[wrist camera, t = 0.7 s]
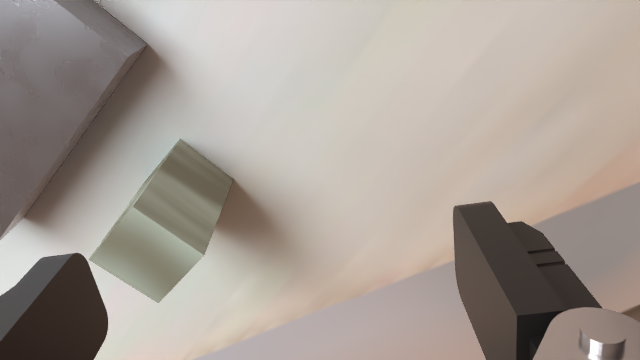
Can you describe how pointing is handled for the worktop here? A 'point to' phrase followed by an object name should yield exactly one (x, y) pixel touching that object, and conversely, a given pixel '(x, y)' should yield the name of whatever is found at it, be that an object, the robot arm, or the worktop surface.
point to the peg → (166, 223)
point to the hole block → (52, 89)
